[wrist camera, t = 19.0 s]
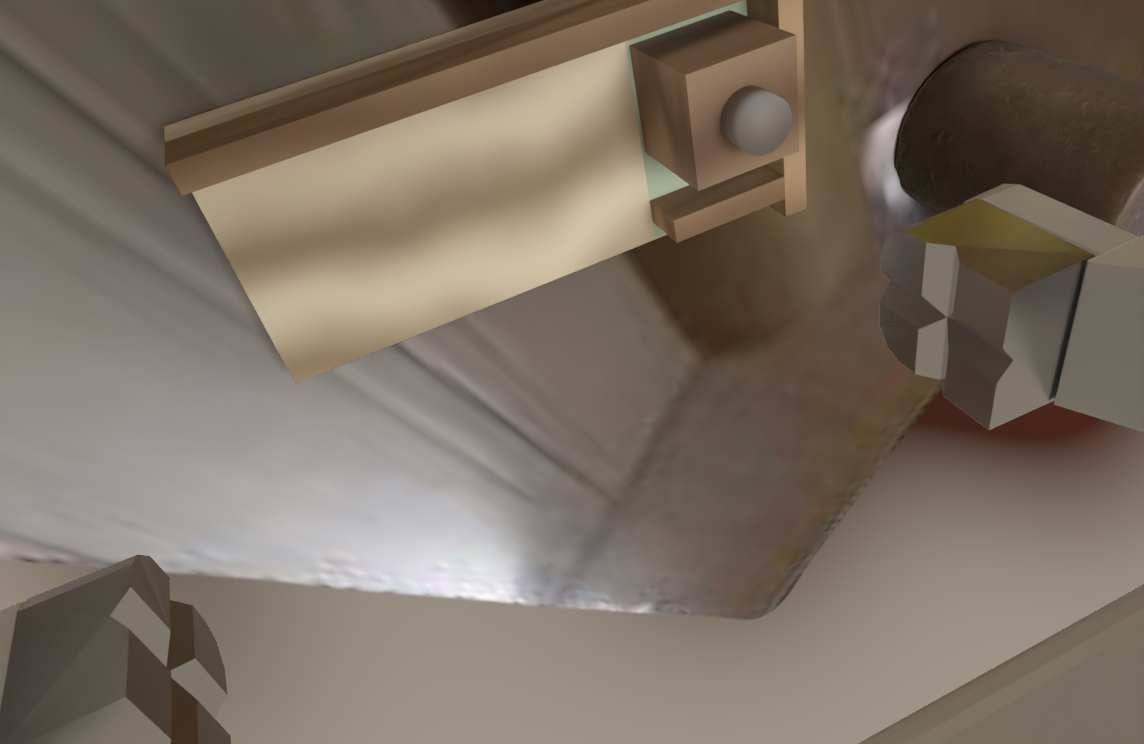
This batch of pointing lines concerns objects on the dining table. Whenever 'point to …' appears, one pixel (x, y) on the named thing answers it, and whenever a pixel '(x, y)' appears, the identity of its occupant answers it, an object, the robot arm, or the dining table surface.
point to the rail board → (455, 174)
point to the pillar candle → (1026, 133)
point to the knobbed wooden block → (717, 97)
